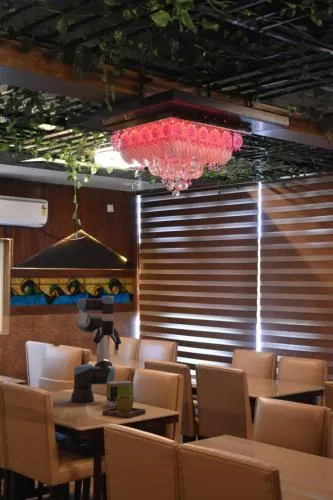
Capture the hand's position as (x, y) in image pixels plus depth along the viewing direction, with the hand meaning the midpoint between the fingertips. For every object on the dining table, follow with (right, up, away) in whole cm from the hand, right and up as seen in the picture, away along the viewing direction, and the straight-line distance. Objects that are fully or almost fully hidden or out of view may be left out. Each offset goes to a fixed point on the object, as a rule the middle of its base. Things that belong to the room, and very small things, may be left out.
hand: (107, 354), depth 420 cm
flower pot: (+13, -30, -30) cm, 44 cm away
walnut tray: (+13, -30, -30) cm, 44 cm away
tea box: (+8, -32, -1) cm, 33 cm away
